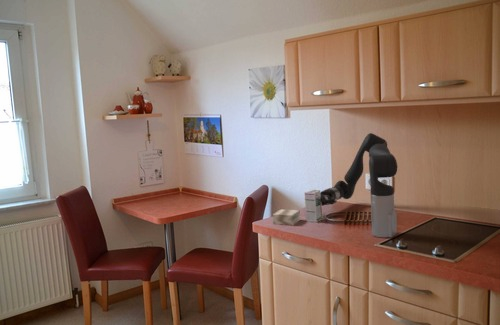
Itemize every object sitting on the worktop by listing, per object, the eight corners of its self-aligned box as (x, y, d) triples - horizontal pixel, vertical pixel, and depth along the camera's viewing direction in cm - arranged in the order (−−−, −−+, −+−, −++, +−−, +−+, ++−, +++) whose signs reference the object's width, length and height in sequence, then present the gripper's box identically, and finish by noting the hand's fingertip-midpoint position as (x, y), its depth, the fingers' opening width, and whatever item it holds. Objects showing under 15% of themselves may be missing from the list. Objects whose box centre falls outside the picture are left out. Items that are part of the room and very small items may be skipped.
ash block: (300, 220, 217) (299, 210, 216) (292, 225, 208) (292, 215, 208) (281, 219, 222) (280, 209, 221) (273, 224, 213) (272, 214, 212)
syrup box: (316, 222, 210) (315, 192, 208) (305, 221, 213) (304, 191, 211) (322, 219, 214) (320, 190, 212) (311, 218, 218) (310, 189, 216)
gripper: (316, 187, 230) (300, 194, 217) (342, 189, 221) (327, 196, 208) (317, 202, 231) (301, 209, 218) (342, 204, 222) (327, 211, 209)
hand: (314, 202), depth 213 cm, fingers open, 8 cm apart
